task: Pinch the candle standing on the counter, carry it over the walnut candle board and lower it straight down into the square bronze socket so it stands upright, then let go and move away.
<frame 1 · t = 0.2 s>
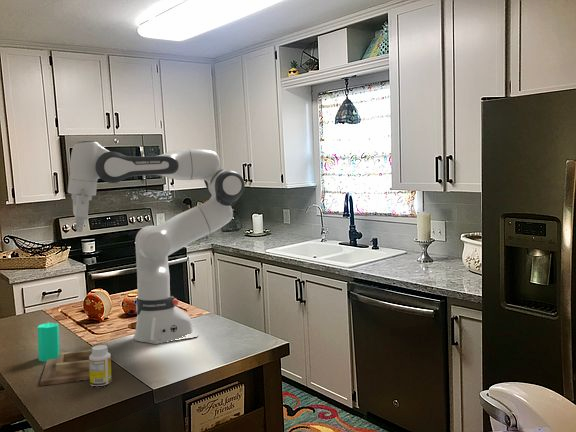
hand: (78, 230, 173), 39 cm above the table, tool pointing down, fingers open, 8 cm apart
candle: (49, 358, 161), on the table
candle holder: (78, 370, 151), on the table
supplement bottle: (100, 384, 141), on the table
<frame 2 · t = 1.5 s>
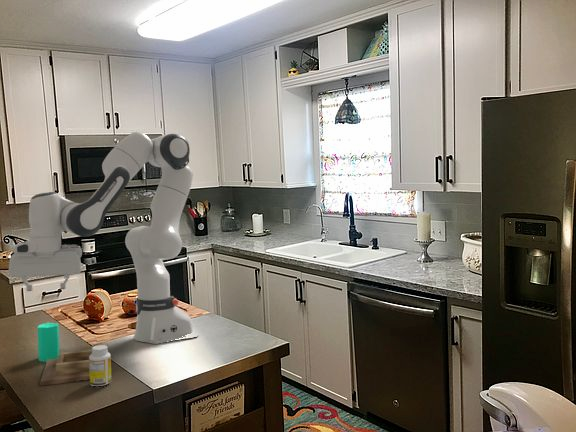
hand: (46, 289, 160), 22 cm above the table, tool pointing down, fingers open, 8 cm apart
nothing on the table moved.
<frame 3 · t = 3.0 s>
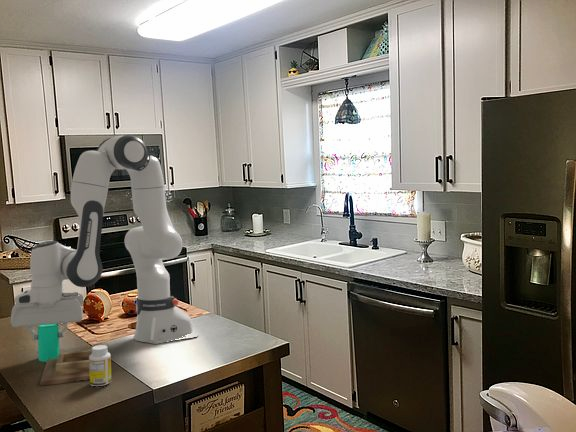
hand: (48, 338, 161), 6 cm above the table, tool pointing down, fingers open, 6 cm apart
candle: (49, 358, 161), on the table, touching gripper
everything else where it was.
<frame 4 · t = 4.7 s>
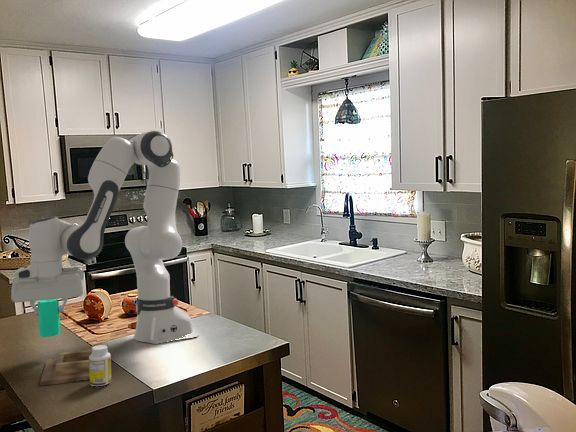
hand: (49, 313, 161), 14 cm above the table, tool pointing down, fingers closed on candle, 5 cm apart
candle: (50, 334, 161), point 7 cm above the table, touching gripper
everything else where it was.
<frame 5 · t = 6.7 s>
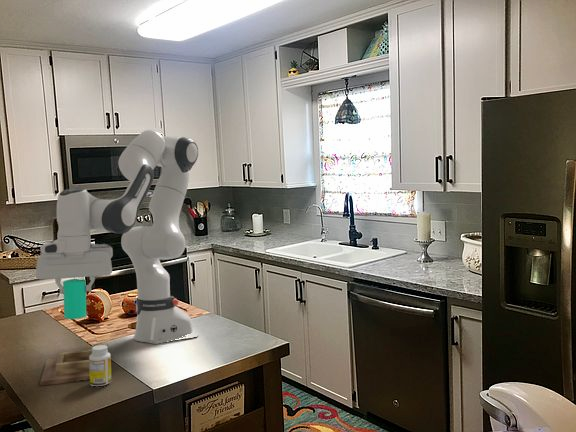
hand: (75, 292, 150), 23 cm above the table, tool pointing down, fingers closed on candle, 5 cm apart
candle: (75, 317, 150), point 16 cm above the table, touching gripper
everything else where it was.
when the fingers open (9 cm above the table, at t = 9.2 s): candle stays where it is, resting on candle holder.
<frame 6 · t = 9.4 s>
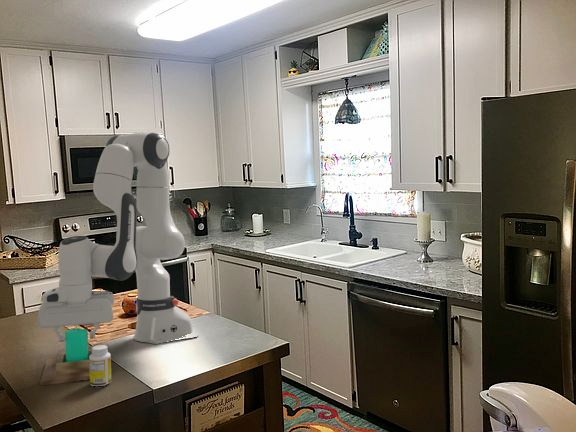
hand: (77, 339, 151), 9 cm above the table, tool pointing down, fingers open, 7 cm apart
candle: (77, 366, 151), point 1 cm above the table, touching candle holder
everything else where it was.
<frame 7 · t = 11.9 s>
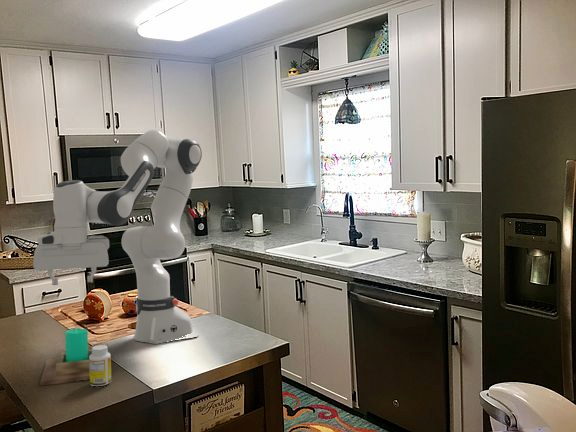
hand: (72, 283, 151), 25 cm above the table, tool pointing down, fingers open, 8 cm apart
nothing on the table moved.
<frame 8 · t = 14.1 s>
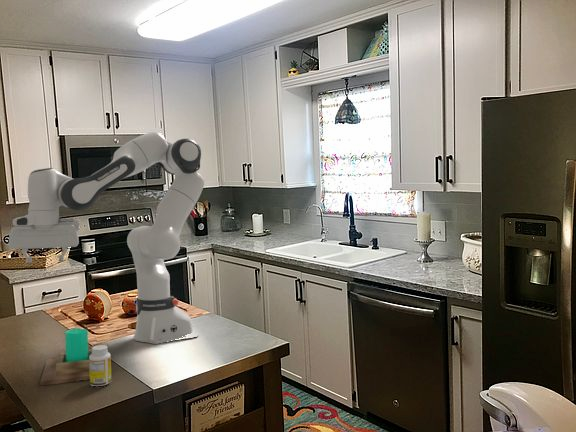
hand: (45, 261, 167), 29 cm above the table, tool pointing down, fingers open, 8 cm apart
nothing on the table moved.
at the end: candle 0.1 cm off-centre on the candle holder, point 1.0 cm above the candle holder's base; candle tilted 0°; the gripper is holding nothing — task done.
